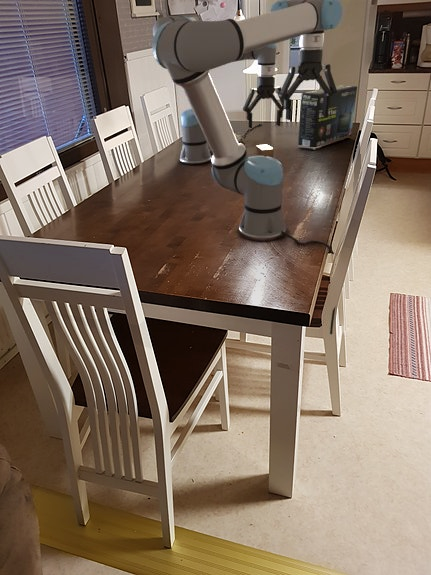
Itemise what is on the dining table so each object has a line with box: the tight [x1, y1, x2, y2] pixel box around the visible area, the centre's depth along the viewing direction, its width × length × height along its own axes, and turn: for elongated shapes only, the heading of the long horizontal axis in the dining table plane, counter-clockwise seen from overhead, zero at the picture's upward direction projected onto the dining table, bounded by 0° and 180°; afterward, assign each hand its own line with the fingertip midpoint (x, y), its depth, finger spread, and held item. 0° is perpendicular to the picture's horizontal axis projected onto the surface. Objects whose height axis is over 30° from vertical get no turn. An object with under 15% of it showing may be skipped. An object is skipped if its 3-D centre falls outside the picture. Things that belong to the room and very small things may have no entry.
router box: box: [297, 84, 358, 151], centre depth 238 cm, size 36×11×27 cm, turn 134°
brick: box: [255, 144, 274, 158], centre depth 216 cm, size 8×6×7 cm, turn 15°
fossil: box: [232, 129, 246, 143], centre depth 251 cm, size 18×11×15 cm
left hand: (264, 126), depth 209 cm, fingers open, 13 cm apart
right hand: (306, 117), depth 159 cm, fingers open, 13 cm apart
